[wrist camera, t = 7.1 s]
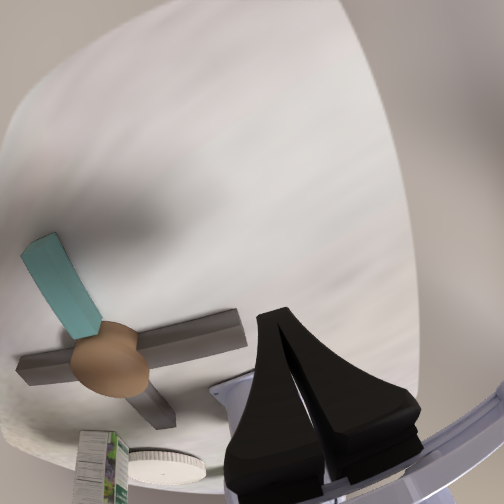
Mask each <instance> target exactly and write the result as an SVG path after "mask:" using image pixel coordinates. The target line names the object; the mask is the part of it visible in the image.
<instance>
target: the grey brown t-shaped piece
mask: <svg viewBox="0 0 504 504" xmlns="http://www.w3.org/2000/svg"><path fill="white" fill-rule="evenodd" d="M246 346H248V345H247V341H246V337H245V333H244V329H243V326H242V323H241V320H240V317H239V314H238V311H237V309H233V310H230V311H226V312H222V313H219V314H215V315H211V316H208V317H204V318H200V319H196V320H192V321H188V322H184V323H180V324H176V325H172V326H168V327H164V328H160V329H156V330H152V331H148V332H143V333H139V334H138V333H137V332H135V331H134V330H132V329H130V328H129V327H126V326H124V325H121V324H118V323H114V322H106V321H102V322H101V324H100V328H99V331H98V334H96V335H92V336H88V337H83V338H79V339H77V342H76V345H75V347H74V348H69V349H63V350H58V351H53V352H47V353H42V354H36V355H30V356H24V357H21V358H20V361H19V363H18V365H17V368H16V370H15V371H16V372H17V373H18V374H19V375H20V376H21V377H22V378H23V380H24V381H25V382H26V383H27V384H28V385H29V386H34V385H45V384H55V383H64V382H73V381H80V382H81V383H82V384H83V385H84V386H86V387H87V388H89V389H90V390H92V391H94V392H96V393H99V394H101V395H105V396H109V397H114V398H125V399H126V400H127V401H128V402H129V403H130V404H131V405H132V406H133V407H134V408H135V409H136V410H137V411H138V412H139V413H140V414H141V415H142V416H143V417H144V418H145V419H146V420H147V421H148V422H149V423H150V424H151V425H152V426H153V427H154V428H155V429H156V430H159V429H167V428H174V427H176V413H175V412H174V411H173V409H172V408H171V407H170V406H169V405H168V404H167V402H166V401H165V400H164V399H163V397H162V396H161V395H160V394H159V393H158V391H157V390H156V389H155V388H154V386H153V385H152V384H151V382H150V381H149V369H153V368H158V367H163V366H168V365H173V364H177V363H182V362H186V361H191V360H195V359H199V358H203V357H208V356H212V355H216V354H220V353H224V352H227V351H231V350H235V349H239V348H243V347H246Z"/></svg>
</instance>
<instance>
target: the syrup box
mask: <svg viewBox="0 0 504 504" xmlns="http://www.w3.org/2000/svg"><path fill="white" fill-rule="evenodd" d="M128 455H129V447H128V446H126V445H125V443H124V442H123V441H122V440H121V439H120V438H119V437H118V436H117V435H116V433H115V432H105V431H81V432H80V438H79V445H78V452H77V459H76V468H75V478H74V489H73V504H128Z"/></svg>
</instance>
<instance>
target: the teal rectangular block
mask: <svg viewBox="0 0 504 504" xmlns="http://www.w3.org/2000/svg"><path fill="white" fill-rule="evenodd" d="M20 256H21V258H22V260H23V262H24V264H25V265H26V267H27V269H28V271H29V273H30V274H31V276H32V278H33V279H34V281H35V283H36V285H37V286H38V288H39V289H40V291H41V293H42V294H43V296H44V298H45V299H46V301H47V302H48V304H49V305H50V307H51V308H52V310H53V311H54V313H55V314H56V316H57V317H58V319H59V320H60V322H61V323H62V324H63V326H64V327H65V329H66V330H67V331H68V333H69V334H70V336H71V337H72V338H73V340H74V339H79V338H83V337H88V336H92V335H96V334H98V331H99V328H100V324H101V321H102V318H103V317H102V316H101V314H100V313H99V311H98V309H97V308H96V306H95V305H94V303H93V301H92V300H91V298H90V296H89V295H88V293H87V291H86V290H85V288H84V286H83V284H82V283H81V281H80V279H79V277H78V276H77V274H76V272H75V270H74V268H73V266H72V265H71V263H70V261H69V259H68V257H67V255H66V253H65V251H64V249H63V247H62V245H61V243H60V241H59V239H58V237H57V235H56V233H52V234H50V235H48V236H45V237H43V238H41V239H39V240H36V241H34V242H32V243H31V244H30V245H29V246H28V247H27V248H26V250H25V251H24V252H23V253H22V254H21V255H20Z"/></svg>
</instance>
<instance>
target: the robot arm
mask: <svg viewBox="0 0 504 504" xmlns="http://www.w3.org/2000/svg"><path fill="white" fill-rule="evenodd" d="M256 319H257V325H258V347H257V358H256V365H255V371H254V372H251V373H248V374H246V375H243V376H240V377H238V378H235V379H232V380H230V381H227V382H224V383H221V384H218V385H215V386H213V387H210V388H209V392H210V394H211V395H212V396H214V397H215V398H216V399H217V400H218V401H219V402H220V403H221V404H222V405H223V406H224V407H225V408H226V411H227V417H228V423H229V429H230V434H231V441H230V443H229V444H228V446H227V448H226V452H225V459H224V478H225V479H224V491H225V497H226V503H227V504H456V502H455V500H454V498H453V496H452V494H451V492H450V490H449V488H448V485H450V484H451V483H452V482H454V481H456V480H457V479H458V478H460V477H461V476H463V475H464V474H466V473H467V472H468V471H470V470H471V469H473V468H474V467H475V466H477V465H478V464H479V463H480V462H482V461H483V460H484V459H485V458H487V457H488V456H489V455H491V454H492V453H493V452H494V451H495V450H497V449H498V448H499V447H500V446H501V445H502V444H503V443H504V380H503V381H502V382H501V383H500V385H499V386H498V388H497V389H496V391H495V392H494V393H493V394H492V395H491V396H489V397H488V398H487V399H485V400H484V401H483V402H481V403H480V404H479V405H478V406H476V407H475V408H473V409H472V410H471V411H469V412H468V413H466V414H465V415H464V416H462V417H461V418H459V419H458V420H456V421H455V422H453V423H452V424H450V425H449V426H447V427H445V428H444V429H442V430H441V431H439V432H437V433H436V434H434V435H433V436H431V437H429V438H427V439H426V440H424V441H422V442H421V441H420V440H419V438H418V436H417V433H418V430H417V428H416V426H415V425H414V424H415V422H416V420H417V419H418V417H419V414H420V412H421V408H420V406H419V404H418V402H417V401H416V399H415V398H414V397H413V396H412V395H411V394H410V393H409V391H408V390H407V389H404V388H401V387H398V386H396V385H393V384H390V383H388V382H385V381H383V380H381V379H378V378H376V377H374V376H372V375H370V374H368V373H366V372H364V371H363V370H361V369H359V368H357V367H355V366H353V365H352V364H350V363H349V362H347V361H345V360H344V359H342V358H341V357H340V356H338V355H337V354H335V353H334V352H333V351H331V350H330V349H329V348H328V347H326V346H325V345H324V344H323V343H321V342H320V341H319V340H318V339H317V338H316V337H315V336H314V335H312V334H311V333H310V332H309V331H308V330H307V329H306V328H305V327H304V326H303V325H302V324H301V323H300V322H299V320H298V319H297V318H296V317H295V316H294V315H293V313H292V312H291V311H290V309H289V308H287V307H283V308H280V309H276V310H273V311H270V312H266V313H263V314H259V315H258V316H257V317H256ZM290 372H291V373H290ZM291 374H292V375H291ZM292 376H293V378H294V380H293V378H292ZM294 381H295V383H296V385H297V387H298V389H299V391H300V393H301V395H302V397H301V395H300V394H299V392H298V390H297V388H296V385H295V383H294ZM302 398H303V399H302ZM303 400H304V402H305V404H306V407H307V410H308V412H309V415H310V418H311V421H312V423H311V421H310V419H309V416H308V414H307V412H306V409H305V407H304V405H303ZM312 424H313V426H312ZM313 427H314V428H313ZM413 464H414V465H413ZM411 465H412V466H411ZM409 466H411V467H409ZM407 467H409V468H408V469H406V470H405V473H404V475H403V476H401V477H400V478H399V479H397V480H395V481H393V482H391V483H389V484H386V485H384V486H382V487H379V488H377V489H375V490H372V491H370V492H367V493H365V494H362V495H360V496H357V497H355V498H352V499H349V500H347V501H346V495H347V494H350V493H352V492H355V491H357V490H360V489H362V488H365V487H367V486H369V485H372V484H374V483H376V482H379V481H381V480H383V479H385V478H387V477H390V476H391V475H393V474H396V473H398V472H400V471H402V470H404V469H405V468H407Z"/></svg>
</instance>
